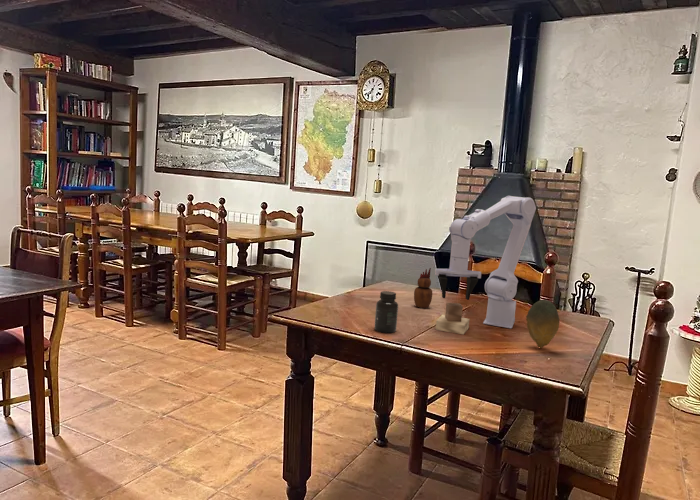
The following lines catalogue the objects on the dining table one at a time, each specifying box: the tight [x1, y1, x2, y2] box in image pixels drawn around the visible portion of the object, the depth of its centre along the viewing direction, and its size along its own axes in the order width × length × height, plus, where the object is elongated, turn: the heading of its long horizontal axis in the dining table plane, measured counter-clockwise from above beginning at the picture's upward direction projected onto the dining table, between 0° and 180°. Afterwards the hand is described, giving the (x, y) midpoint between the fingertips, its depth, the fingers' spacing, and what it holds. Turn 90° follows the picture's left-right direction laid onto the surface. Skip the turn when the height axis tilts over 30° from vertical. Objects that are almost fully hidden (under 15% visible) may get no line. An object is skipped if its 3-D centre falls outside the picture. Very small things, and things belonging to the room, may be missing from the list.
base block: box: [435, 314, 470, 335], centre depth 171 cm, size 9×9×3 cm
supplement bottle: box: [374, 290, 399, 334], centre depth 164 cm, size 7×7×12 cm
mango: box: [525, 299, 561, 349], centre depth 156 cm, size 10×6×15 cm, turn 48°
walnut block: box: [444, 302, 464, 322], centre depth 171 cm, size 4×4×5 cm
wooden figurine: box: [413, 267, 433, 309], centre depth 197 cm, size 7×6×15 cm
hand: (455, 298), depth 170 cm, fingers open, 7 cm apart
